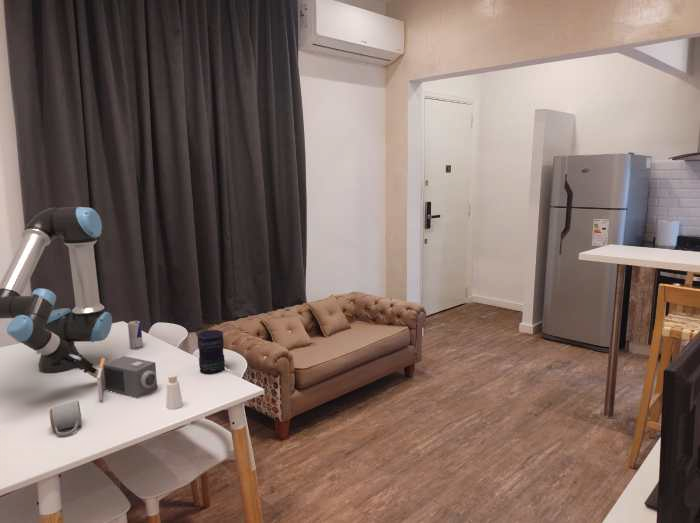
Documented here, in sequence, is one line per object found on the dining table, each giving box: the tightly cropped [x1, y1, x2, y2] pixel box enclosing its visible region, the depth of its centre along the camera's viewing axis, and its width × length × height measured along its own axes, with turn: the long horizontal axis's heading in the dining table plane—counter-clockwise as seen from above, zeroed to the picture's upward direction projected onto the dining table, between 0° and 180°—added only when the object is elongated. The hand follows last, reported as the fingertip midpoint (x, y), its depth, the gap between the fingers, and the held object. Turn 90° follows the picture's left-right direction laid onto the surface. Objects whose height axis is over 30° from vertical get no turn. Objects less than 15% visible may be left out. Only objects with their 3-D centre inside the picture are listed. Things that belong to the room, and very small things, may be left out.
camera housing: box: [103, 355, 158, 399], centre depth 182 cm, size 18×9×11 cm, turn 65°
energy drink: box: [127, 320, 144, 350], centre depth 225 cm, size 5×5×12 cm
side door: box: [96, 357, 106, 401], centre depth 181 cm, size 21×1×8 cm, turn 22°
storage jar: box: [197, 329, 226, 375], centre depth 199 cm, size 10×10×15 cm
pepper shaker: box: [165, 373, 184, 410], centre depth 169 cm, size 5×5×11 cm
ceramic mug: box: [49, 400, 83, 438], centre depth 155 cm, size 11×8×8 cm
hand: (98, 374), depth 189 cm, fingers closed
